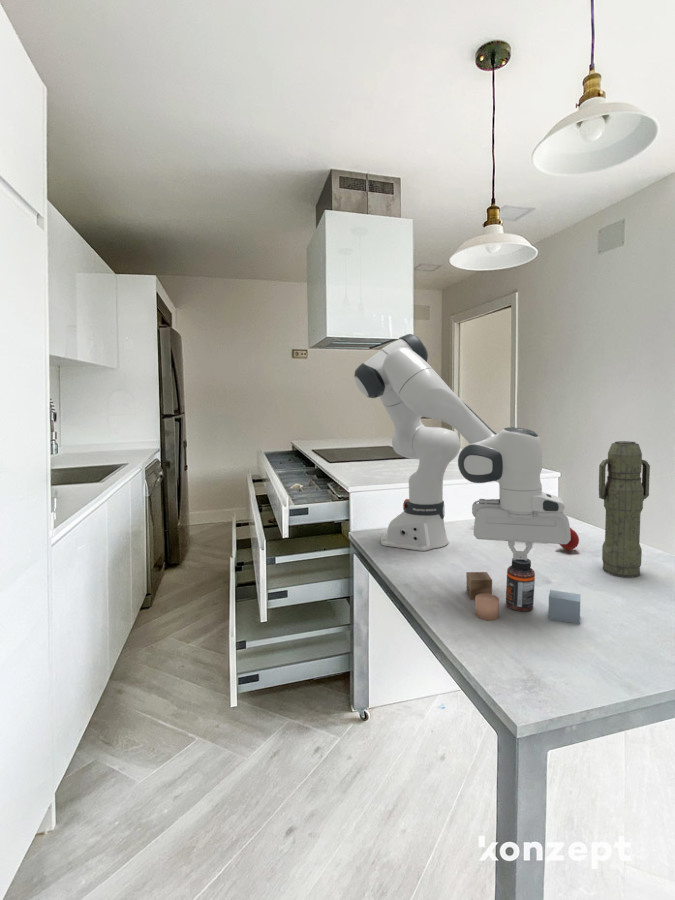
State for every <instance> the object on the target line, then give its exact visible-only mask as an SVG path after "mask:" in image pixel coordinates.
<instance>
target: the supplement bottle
mask: <svg viewBox="0 0 675 900" xmlns="http://www.w3.org/2000/svg"><path fill="white" fill-rule="evenodd" d="M531 564H532V561H531V559H529V558H528V557H527V561H520V560H513V557H512V558H511V565H510V566H508V567H507V570H506V591H505V592H506V593H505V604H506V605H507V607H508V608H510V609H512V610H514V611H518V612H528V611H531V610H532V609H534V597H535V581H536V573H535V570H534V569H533V568H532V565H531Z"/></svg>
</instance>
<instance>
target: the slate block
mask: <svg viewBox="0 0 675 900" xmlns="http://www.w3.org/2000/svg"><path fill="white" fill-rule="evenodd" d="M548 619H549V620H554V621H561V622H566V623H573V624H577V625H580V624H581V593H574V592H568V591H567V592H566V591H561V590H553V589H550V590H549V594H548Z"/></svg>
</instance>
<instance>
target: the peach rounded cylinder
mask: <svg viewBox="0 0 675 900" xmlns="http://www.w3.org/2000/svg"><path fill="white" fill-rule="evenodd" d="M474 602H475V605H474V606H475V609H474V610H475V611H474V612H475V613H474V614H475V616H476V617H477V618H478V619H480V620H483V621H495V620H498V619H499V618H500V598H499V597H498V596H497V595H495V594H493V593H492V594H488V593H482V594H478V595H476V596H475V600H474Z"/></svg>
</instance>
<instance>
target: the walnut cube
mask: <svg viewBox="0 0 675 900" xmlns="http://www.w3.org/2000/svg"><path fill="white" fill-rule="evenodd" d="M465 573H466V575H465V576H466V593H467V594H468V597H469V598H470V600H471V601H472V600H473V601H475V596H476V595H478V594H482V593H488V594H493V579H492V578H491V576H490V574H489V573H488V572H487V571H471V572H470V571H469V572H467V571H466V572H465Z"/></svg>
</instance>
